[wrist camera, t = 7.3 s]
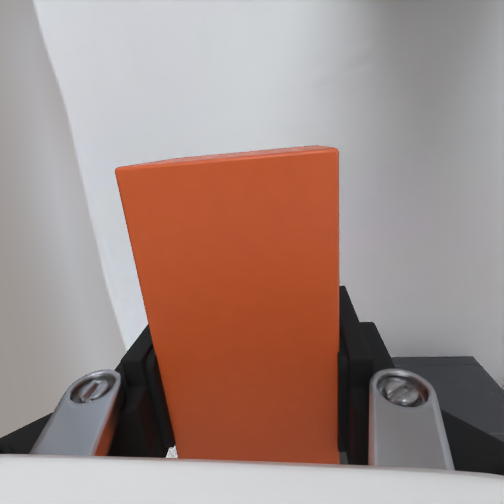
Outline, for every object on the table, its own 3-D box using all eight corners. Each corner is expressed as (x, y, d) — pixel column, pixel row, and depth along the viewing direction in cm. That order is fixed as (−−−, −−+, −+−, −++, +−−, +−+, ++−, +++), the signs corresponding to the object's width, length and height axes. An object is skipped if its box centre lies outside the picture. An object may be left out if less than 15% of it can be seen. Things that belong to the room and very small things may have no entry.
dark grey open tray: (246, 359, 27) (233, 429, 20) (473, 356, 24) (542, 433, 18) (264, 521, 33) (259, 617, 26) (447, 530, 30) (493, 636, 24)
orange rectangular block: (176, 158, 10) (112, 168, 6) (319, 145, 10) (339, 147, 6) (221, 440, 14) (197, 549, 10) (325, 443, 13) (340, 560, 10)
